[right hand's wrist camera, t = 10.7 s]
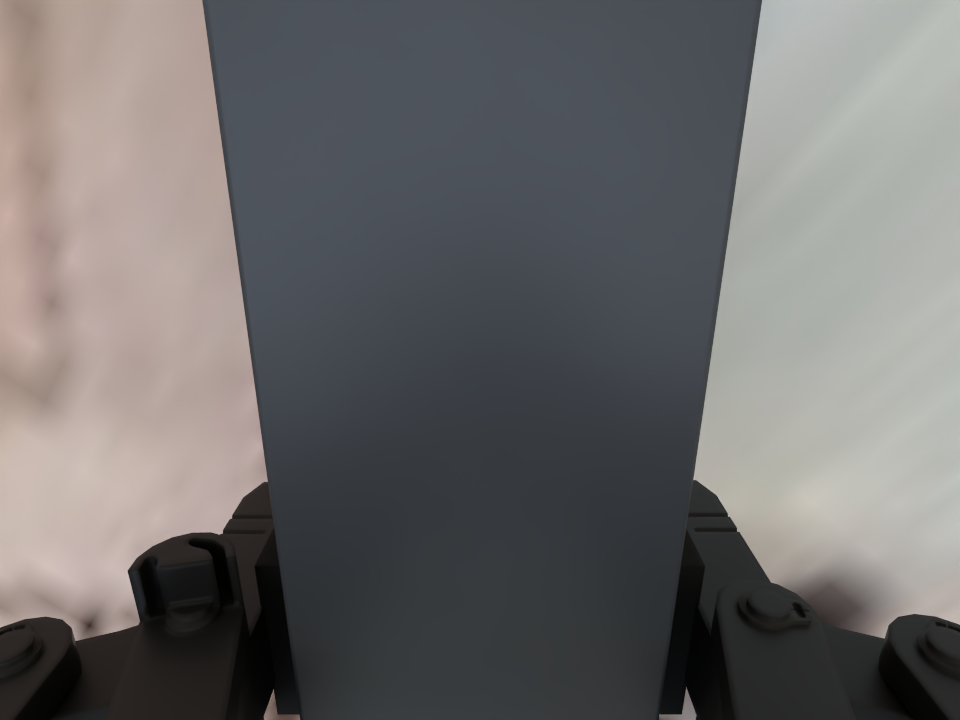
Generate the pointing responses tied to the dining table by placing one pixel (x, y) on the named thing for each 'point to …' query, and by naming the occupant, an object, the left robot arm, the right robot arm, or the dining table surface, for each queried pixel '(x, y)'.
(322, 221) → the bar
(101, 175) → the dining table surface
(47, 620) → the right robot arm
